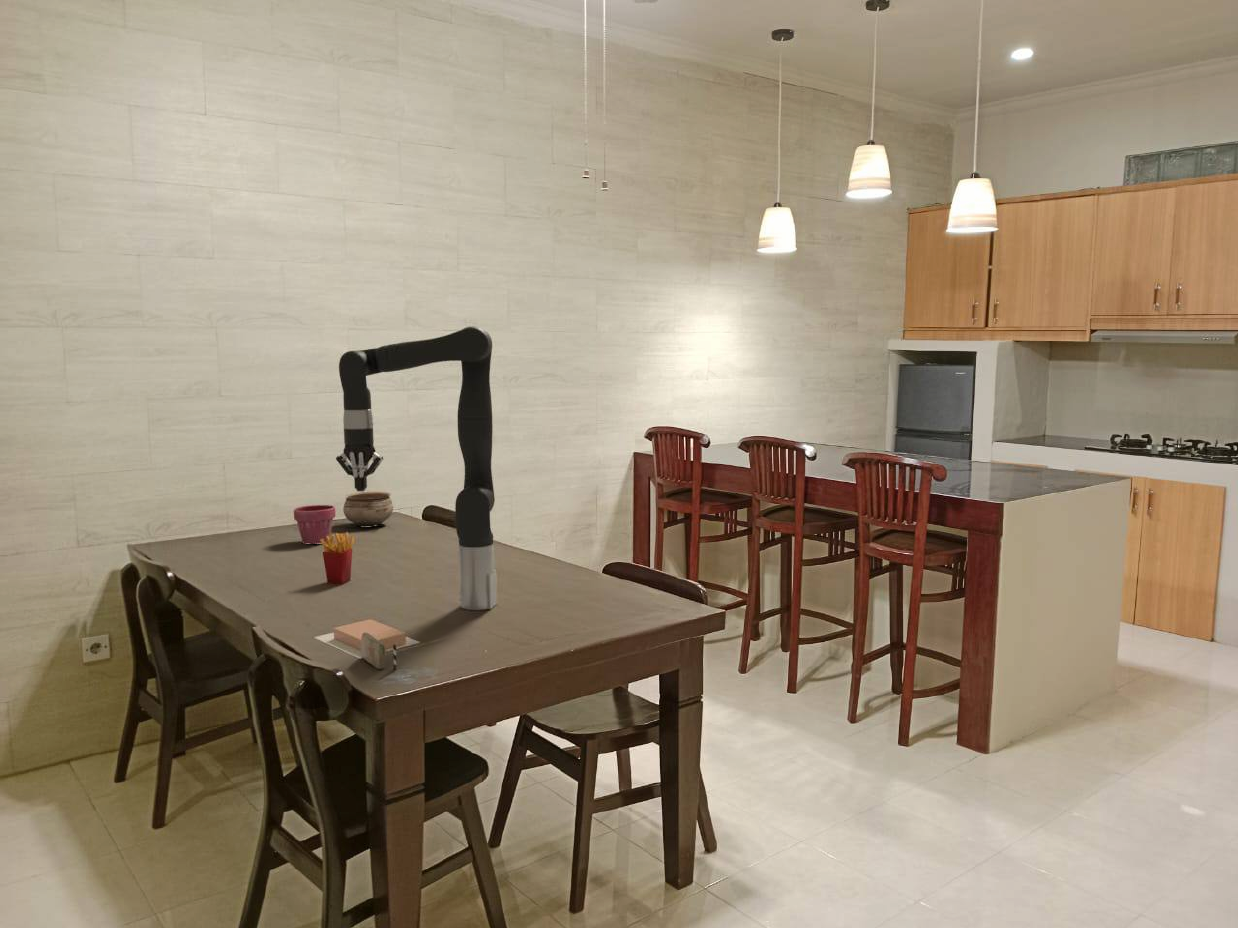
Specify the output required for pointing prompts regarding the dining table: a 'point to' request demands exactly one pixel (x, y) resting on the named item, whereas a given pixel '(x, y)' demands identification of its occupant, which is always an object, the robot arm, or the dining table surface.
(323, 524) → the plant pot
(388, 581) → the dining table surface
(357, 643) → the tile
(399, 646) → the mat
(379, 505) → the cooking pot
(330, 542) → the french fries
